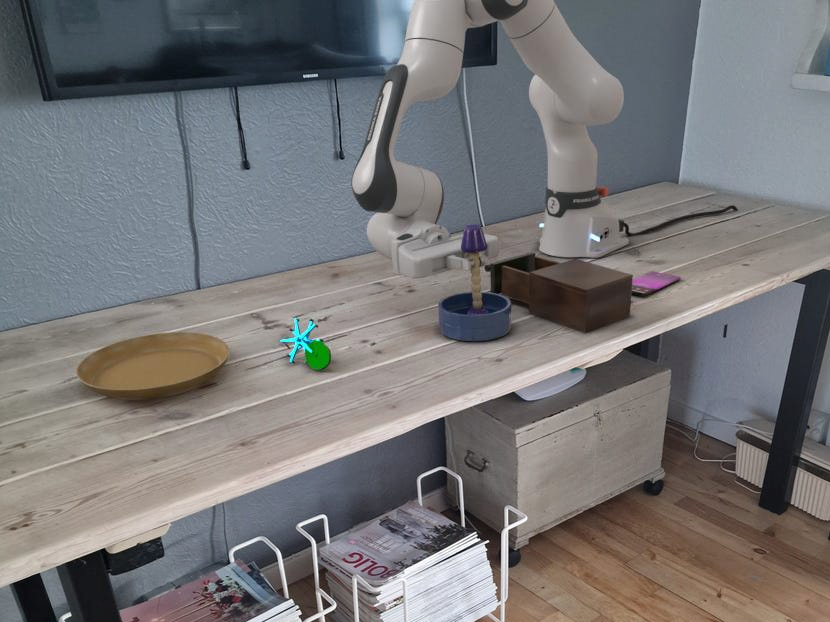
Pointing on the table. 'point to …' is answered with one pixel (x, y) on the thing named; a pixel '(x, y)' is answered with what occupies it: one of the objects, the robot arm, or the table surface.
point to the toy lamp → (473, 245)
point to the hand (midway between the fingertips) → (477, 263)
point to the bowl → (474, 317)
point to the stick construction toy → (309, 347)
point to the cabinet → (580, 294)
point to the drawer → (515, 275)
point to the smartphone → (651, 282)
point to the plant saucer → (153, 365)
